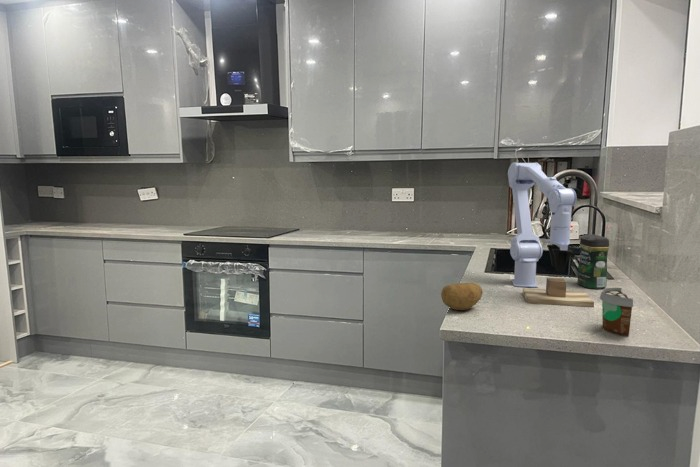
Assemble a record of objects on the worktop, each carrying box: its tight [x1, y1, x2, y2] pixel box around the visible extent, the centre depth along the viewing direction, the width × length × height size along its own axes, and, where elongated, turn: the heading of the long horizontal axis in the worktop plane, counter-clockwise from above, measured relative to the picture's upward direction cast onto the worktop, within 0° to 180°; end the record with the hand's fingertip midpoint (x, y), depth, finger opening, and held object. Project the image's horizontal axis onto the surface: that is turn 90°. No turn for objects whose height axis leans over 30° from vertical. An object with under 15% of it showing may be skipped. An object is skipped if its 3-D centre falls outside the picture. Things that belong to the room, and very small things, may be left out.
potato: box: [440, 282, 483, 311], centre depth 143 cm, size 10×14×8 cm
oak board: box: [522, 287, 595, 308], centre depth 154 cm, size 13×19×2 cm
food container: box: [599, 287, 634, 337], centre depth 125 cm, size 12×6×10 cm, turn 163°
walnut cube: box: [545, 277, 568, 297], centre depth 153 cm, size 5×5×5 cm
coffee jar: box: [577, 233, 610, 290], centre depth 170 cm, size 10×8×19 cm
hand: (557, 269), depth 152 cm, fingers open, 7 cm apart
